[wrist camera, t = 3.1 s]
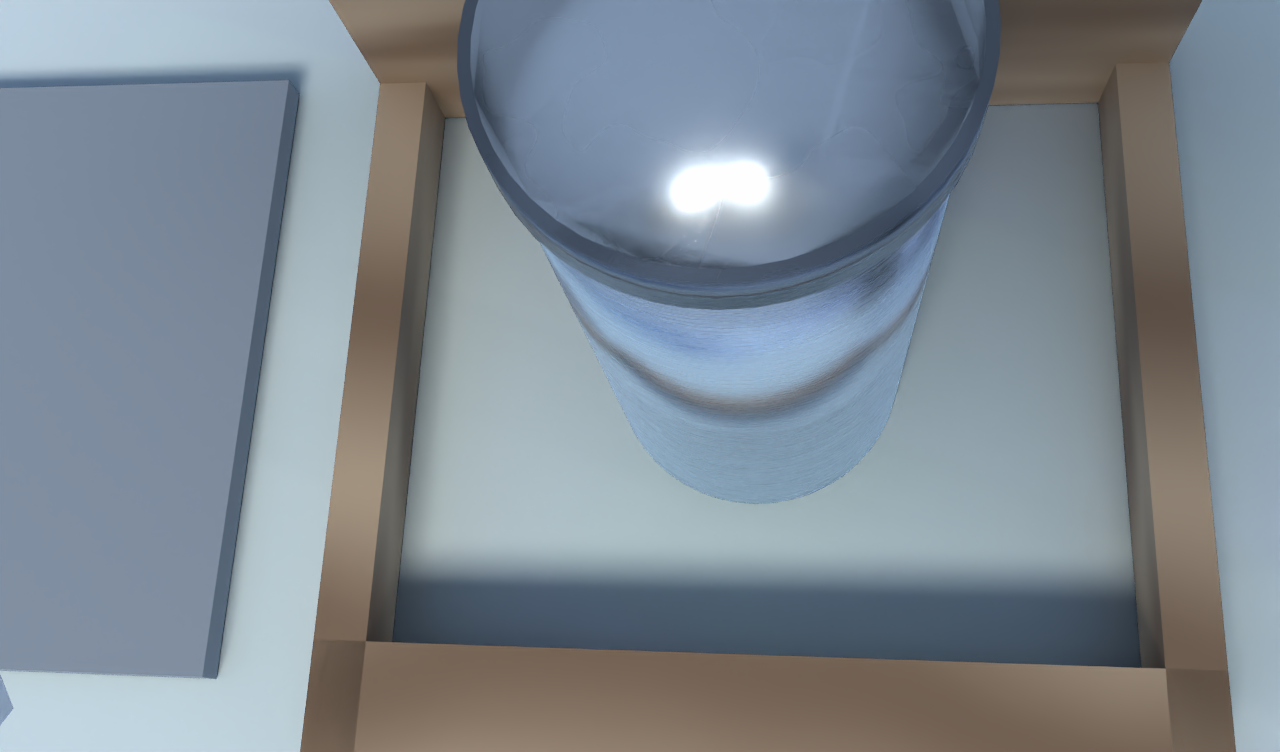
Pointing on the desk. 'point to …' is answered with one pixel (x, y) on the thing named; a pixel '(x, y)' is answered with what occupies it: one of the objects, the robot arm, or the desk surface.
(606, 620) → the desk surface
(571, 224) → the canister
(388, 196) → the frame
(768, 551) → the desk surface
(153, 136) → the felt pad
